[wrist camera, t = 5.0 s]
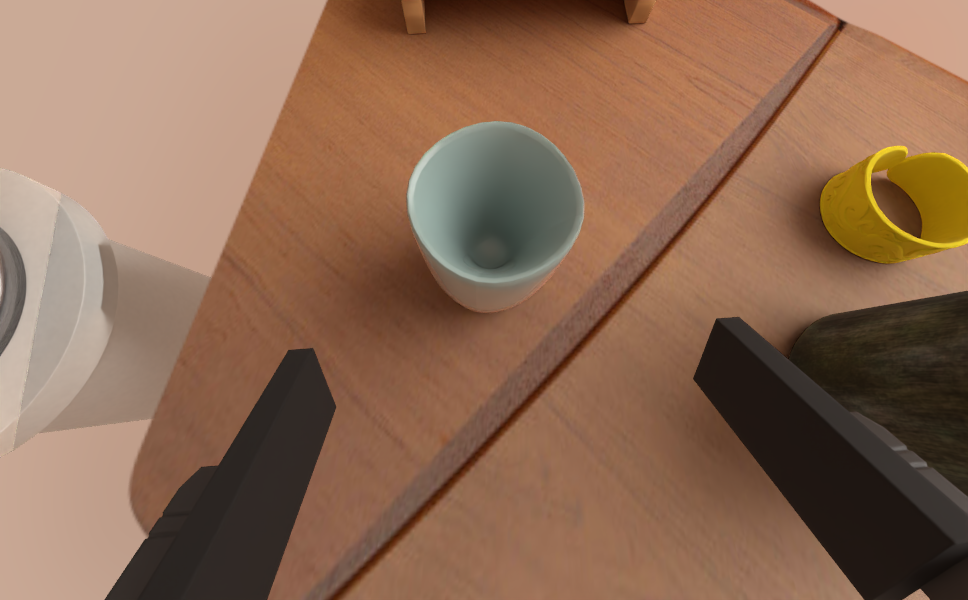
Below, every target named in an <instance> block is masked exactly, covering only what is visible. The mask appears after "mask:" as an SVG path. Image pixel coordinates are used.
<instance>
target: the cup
mask: <svg viewBox="0 0 968 600" xmlns="http://www.w3.org/2000/svg"><path fill="white" fill-rule="evenodd" d="M406 206H407V216H408V220H409V223H410V226H411V230H412V233H413V236H414V239H415V241H416V244H417V246H418V248H419V250H420V252H421V254H422V257H423V259H424V261H425V262H426V264H427V266H428V268H429V270H430V272H431V274H432V276H433V277H434V279H435V280H436V281H437V283H438V284H439V285H440V287H441V288H442V289H443V290H444V292H445V293H446V294H447V295H448V296H450V297H451V298H452V299H453V300H454V301H455V302H457V303H458V304H460V305H462V306H463V307H465V308H467V309H470V310H473V311H476V312H482V313H493V312H501V311H504V310H507V309H510V308H513V307H515V306H517V305H518V304H520V303H522V302H524V301H526V300H527V299H528V298H529V297H531V296H532V295H533V294H535V293H536V292H537V291H538V290H539V289H540V288H541V287H542V286H543V285H544V284H545V283H546V282H547V281H548V280H549V278H550V277H551V276H552V275H553V274H554V273H555V271H556V270H557V269H558V267H559V266H560V265H561V263H562V262H563V261H564V259H565V258H566V256H567V255H568V253H569V252H570V250H571V248H572V246H573V245H574V243H575V241H576V240H577V238H578V236H579V233H580V230H581V226H582V223H583V219H584V197H583V193H582V188H581V185H580V182H579V180H578V178H577V175H576V173H575V171H574V169H573V168H572V166H571V165H570V163H569V162H568V160H567V158H566V157H565V156H564V155H563V154H562V153H561V152H560V151H559V149H558V148H557V147H556V146H555V145H554V144H553V143H551V142H550V141H549V140H548V139H546V138H545V137H544V136H542V135H541V134H539V133H537V132H535V131H534V130H532V129H530V128H528V127H525V126H522V125H519V124H515V123H512V122H500V121H493V122H483V123H478V124H474V125H471V126H467V127H464V128H462V129H460V130H458V131H455V132H453V133H451V134H449V135H448V136H446V137H445V138H443V139H442V140H440V141H439V142H437V143H436V144H435V145H433V146H432V147H431V148H430V149H429V150H428V151H427V152H426V153H425V154H424V155H423V156H422V158H421V159H420V160H419V162H418V163H417V164H416V166H415V167H414V169H413V172H412V174H411V176H410V179H409V181H408V187H407V193H406Z"/></svg>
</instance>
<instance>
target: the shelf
mask: <svg viewBox="0 0 968 600" xmlns="http://www.w3.org/2000/svg"><path fill="white" fill-rule="evenodd" d="M655 2H656V0H624V3H625V8H626V13H627V18H628V23H629V24H630V23H645V22H646V21H647V18H648V16H649V14H650V12H651V10H652V8H653V6H654V4H655ZM401 3H402V8H403V13H404V18H405V23H406V27H407V32H408V34H418V33H426V26H425V7H424V0H401Z"/></svg>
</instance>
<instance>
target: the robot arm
mask: <svg viewBox="0 0 968 600" xmlns="http://www.w3.org/2000/svg"><path fill="white" fill-rule="evenodd" d="M25 296H26V272H25V267H24V263H23V259H22V256H21V254H20V252H19V250H18V248H17V246H16V244H15V243H14V241H13V240H12V239H11V237H10V236H9V235H8V234H7V233H6V232H5V231H4V230H3V229H2V228H1V227H0V356H1V354H2V353H3V351H4V350H5V349H6V347H7V345H8V344H9V342H10V340H11V338H12V337H13V335H14V332H15V330H16V328H17V326H18V323H19V321H20V318H21V315H22V311H23V307H24V303H25ZM693 379H694V381H695V382H696V383H697V385H698V386H699V387H700V388H701V390H702V391H703V392H704V394H705V395H706V396H707V397H708V399H709V400H710V401H711V403H712V404H713V405H714V406H715V408H716V409H717V410H718V412H719V413H720V414H721V415H722V417H723V418H724V419H725V421H726V422H727V423H728V425H729V426H730V427H731V428H732V430H733V431H734V432H735V434H736V435H737V436H738V437H739V439H740V440H741V441H742V443H743V444H744V445H745V446H746V448H747V449H748V450H749V452H750V453H751V454H752V455H753V457H754V458H755V459H756V461H757V462H758V463H759V464H760V466H761V467H762V468H763V470H764V471H765V472H766V474H767V475H768V476H769V477H770V479H771V480H772V481H773V483H774V484H775V485H776V486H777V488H778V489H779V490H780V492H781V493H782V494H783V495H784V497H785V498H786V499H787V501H788V502H789V503H790V504H791V506H792V507H793V508H794V510H795V511H796V512H797V514H798V515H799V516H800V517H801V519H802V520H803V521H804V523H805V524H806V525H807V526H808V528H809V529H810V530H811V532H812V533H813V534H814V535H815V537H816V538H817V539H818V541H819V542H820V543H821V544H822V546H823V547H824V548H825V550H826V551H827V552H828V553H829V555H830V556H831V557H832V559H833V560H834V561H835V563H836V564H837V565H838V566H839V568H840V569H841V570H842V572H843V573H844V574H845V575H846V577H847V578H848V579H849V581H850V582H851V583H852V584H853V586H854V587H855V588H856V590H857V591H858V592H859V593H860V595H861V596H862V597H863V599H864V600H902V599H904V598H906V597H907V596H909V595H910V594H912V593H913V592H915V591H917V590H918V589H921V590H922V591H923V592H924V593H925V594H926V595H927V596H928V597H929V599H930V600H968V497H967V496H966V495H965V494H964V493H963V492H961V491H960V490H959V489H958V488H957V487H955V486H954V485H953V484H952V483H951V482H949V481H948V480H947V479H946V478H945V477H943V476H942V475H941V474H940V473H938V472H937V471H936V470H935V469H934V468H932V467H931V468H930V467H928V466H927V463H926V462H925V461H924V460H923V459H922V458H920V457H919V456H918V455H917V454H916V453H914V452H913V451H909V450H908V449H907V446H906V445H905V444H903V443H902V442H901V441H900V440H899V439H897V438H896V437H895V436H894V435H893V434H891V433H890V432H889V431H888V430H887V429H885V428H884V427H882V426H881V425H879V424H877V423H876V422H874V421H872V420H870V419H869V418H867V417H865V416H863V415H862V414H860V413H858V412H857V411H854V412H849V411H848V410H846V409H845V408H844V407H843V406H842V405H841V404H839V403H838V402H837V401H836V400H835V399H834V398H832V397H831V396H830V395H829V394H828V393H827V392H826V391H824V390H823V389H822V388H821V387H820V386H819V385H817V384H816V383H815V382H814V381H813V380H812V379H810V378H809V377H808V376H807V375H806V374H805V373H803V372H802V371H801V370H800V369H799V368H798V367H796V366H795V365H794V364H793V363H792V362H791V361H790V360H788V359H787V358H786V357H785V356H784V355H783V354H781V353H780V352H779V351H778V350H777V349H776V348H774V347H773V346H772V345H771V344H770V343H769V342H767V341H766V340H765V339H764V338H763V337H762V336H760V335H759V334H758V333H757V332H756V331H755V330H754V329H752V328H751V327H750V326H749V325H748V324H747V323H745V322H744V321H743V320H742V319H741V318H740V317H732V318H718V319H716V321H715V323H714V326H713V329H712V331H711V334H710V336H709V339H708V341H707V344H706V347H705V349H704V352H703V354H702V357H701V360H700V362H699V365H698V367H697V370H696V372H695V375H694V378H693ZM335 409H336V405H335V402H334V400H333V397H332V395H331V392H330V390H329V387H328V385H327V382H326V380H325V377H324V374H323V372H322V369H321V367H320V364H319V362H318V359H317V357H316V354H315V352H314V349H313V348H310V349H296V350H288V352H287V354H286V355H285V357H284V359H283V360H282V362H281V363H280V365H279V367H278V368H277V370H276V372H275V373H274V375H273V377H272V378H271V380H270V382H269V383H268V385H267V387H266V388H265V390H264V392H263V393H262V395H261V396H260V398H259V400H258V401H257V403H256V405H255V406H254V408H253V410H252V411H251V413H250V415H249V416H248V418H247V420H246V421H245V423H244V424H243V426H242V428H241V429H240V431H239V433H238V434H237V436H236V438H235V439H234V441H233V443H232V444H231V446H230V448H229V449H228V451H227V453H226V454H225V456H224V457H223V459H222V461H221V462H220V464H219V466H208V467H201V468H200V469H199V470H198V471H197V472H196V473H195V474H194V475H193V476H191V477H190V478H189V479H188V480H187V481H186V482H185V483H184V484H183V485H182V486H181V487H180V488H179V489H178V491H177V492H176V494H175V495H174V497H173V498H172V500H171V501H170V503H169V504H168V506H167V507H166V509H165V510H164V512H163V516H162V517H161V518H159V519H158V521H157V522H156V524H155V525H154V527H153V528H152V530H151V531H150V533H149V537H148V538H147V539H145V540H144V542H143V543H142V545H141V546H140V548H139V549H138V550H137V552H136V553H135V555H134V556H133V558H132V559H131V561H130V563H129V564H128V565H127V567H126V568H125V570H124V571H123V573H122V574H121V576H120V577H119V579H118V580H117V582H116V583H115V585H114V586H113V588H112V590H111V591H110V592H109V594H108V595H107V597H106V598H105V600H267V598H268V595H269V593H270V590H271V587H272V584H273V581H274V579H275V576H276V573H277V570H278V568H279V565H280V562H281V559H282V556H283V554H284V551H285V548H286V545H287V543H288V540H289V537H290V534H291V531H292V529H293V526H294V523H295V520H296V518H297V515H298V512H299V509H300V506H301V504H302V501H303V498H304V495H305V493H306V490H307V487H308V484H309V482H310V479H311V476H312V473H313V470H314V468H315V465H316V462H317V459H318V457H319V454H320V451H321V448H322V445H323V443H324V440H325V437H326V434H327V432H328V429H329V426H330V423H331V420H332V418H333V415H334V412H335Z"/></svg>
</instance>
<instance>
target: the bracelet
mask: <svg viewBox="0 0 968 600" xmlns="http://www.w3.org/2000/svg"><path fill="white" fill-rule="evenodd" d="M907 154H908V151H907V148H906V147H905V146H893V147H888V148H885V149H882V150H881V151H879V152H877V153H876V154H873V155H871V156H869V157H868V158H866V159H865V160H863V161H861V162H859V163H857V164H856V165H854V166H852V167H850V168H849V170H847V171H846V172H843V173H840V174H838V175H836V176H834V177H833V178H832V179H831V180H829V182H828V183H827V184H826V185H825V187H824V189H823V191H822V194H821V198H820V212H821V216H822V220H823V222H824V224H825V226H826V228H827V230H828V232H829V233H830V234H831V236H832V237H833V238H834V239H835V240H836V241H837V242H838V243H839V244H840V245H842V246H843V247H844V248H845V249H847V250H848V251H850V252H852V253H853V254H855V255H857V256H859V257H862V258H865V259H868V260H871V261H874V262H879V263H898V262H902V261H906V260H910V259H914V258H919V257H923V256H925V255H929V254H934V253H937V252H940V251H944V250H947V249H950V248H955V247H959V246H962V245H964V244H967V243H968V168H967V167H966V166H965V165H964V164H963V163H962V162H960V161H959V160H958V159H956V158H954V157H952V156H950V155H948V154H944V153H935V152H932V153H923V154H919V155H915V156H911V157H907V158H905V157H906V156H907ZM886 169H888V171H887V177H888V178H889V180H890V181H891V182H893V183H895V184H896V185H898V186H899V187H900V188H902V189H903V190H904V191H905V192H906V193H907V194H908V195H909V196H910V198H911V199H912V200H913V202H914V203H915V205H916V206H917V208H918V210H919V212H920V215H921V220H922V232H921V237H920V239H919V238H916V237H914V236H912V235H910V234H907V233H906V232H904V231H902V230H901V229H899V228H898V227H897V226H895V225H894V224H893V223H892V222H891V221H890V220H888V218H887V217H886V216H885V215H884V214H883V212H882V211H881V210H880V208H879V207H878V205H877V203H876V201H875V199H874V197H873V194H872V190H871V173H874V172H879V171H882V170H886Z"/></svg>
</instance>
